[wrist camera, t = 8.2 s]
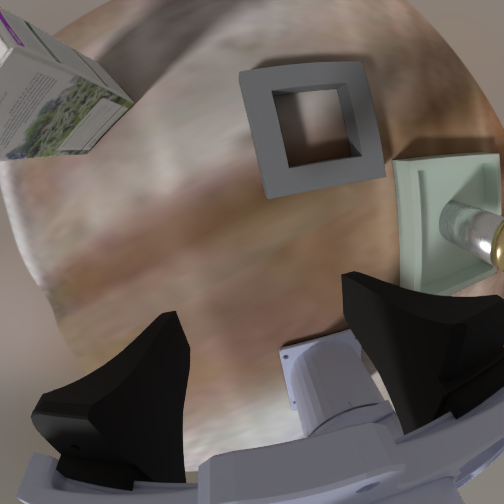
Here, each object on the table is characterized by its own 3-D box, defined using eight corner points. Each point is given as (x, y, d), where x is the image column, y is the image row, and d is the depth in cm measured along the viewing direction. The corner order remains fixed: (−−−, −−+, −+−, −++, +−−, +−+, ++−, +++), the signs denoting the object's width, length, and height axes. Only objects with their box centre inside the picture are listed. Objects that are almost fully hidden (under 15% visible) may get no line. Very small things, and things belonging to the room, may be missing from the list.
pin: (465, 235, 22) (520, 263, 15) (439, 245, 22) (496, 278, 15) (464, 197, 21) (524, 217, 13) (437, 205, 21) (500, 228, 13)
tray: (482, 265, 24) (495, 272, 22) (399, 298, 24) (412, 310, 22) (482, 152, 20) (499, 153, 18) (391, 160, 20) (408, 161, 18)
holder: (373, 175, 20) (386, 177, 18) (265, 195, 20) (268, 199, 19) (351, 68, 17) (361, 61, 16) (238, 79, 17) (239, 71, 16)
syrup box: (99, 62, 16) (-19, -5, 2) (138, 105, 17) (8, 44, 4) (53, 113, 17) (-82, 101, 3) (88, 158, 18) (-62, 178, 5)
